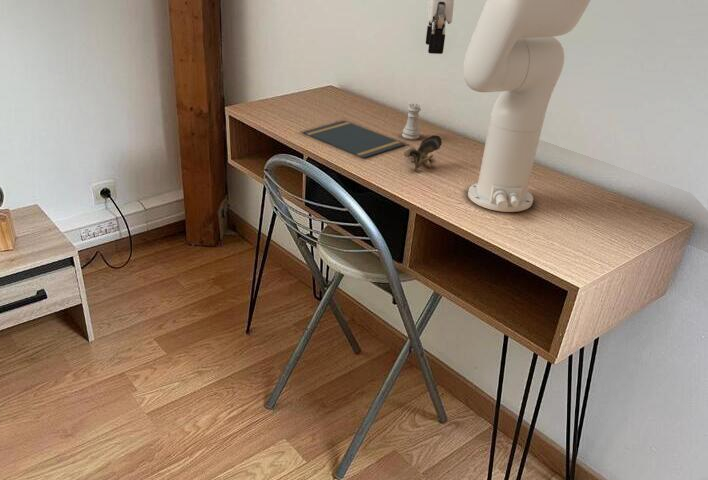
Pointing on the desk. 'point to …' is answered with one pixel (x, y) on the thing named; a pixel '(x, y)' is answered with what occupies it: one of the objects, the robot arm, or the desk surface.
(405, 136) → the rook chess piece
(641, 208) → the desk surface
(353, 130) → the placemat
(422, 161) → the brown toy squirrel
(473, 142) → the desk surface
